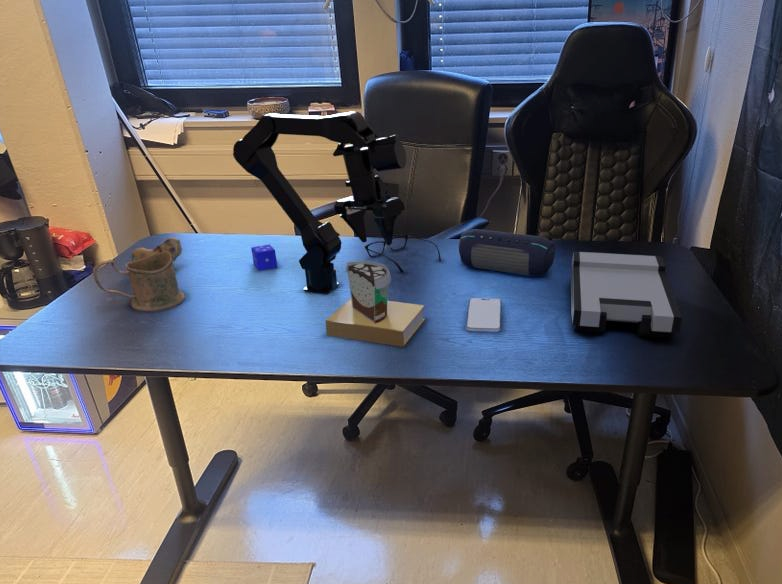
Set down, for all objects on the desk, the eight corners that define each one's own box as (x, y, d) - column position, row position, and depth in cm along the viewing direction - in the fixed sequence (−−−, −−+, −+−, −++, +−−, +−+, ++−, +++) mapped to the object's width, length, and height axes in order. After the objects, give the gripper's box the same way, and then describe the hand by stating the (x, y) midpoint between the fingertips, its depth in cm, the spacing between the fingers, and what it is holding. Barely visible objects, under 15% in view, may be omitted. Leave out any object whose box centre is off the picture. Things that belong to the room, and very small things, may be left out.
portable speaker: (452, 270, 164) (452, 233, 159) (465, 258, 172) (466, 222, 167) (546, 284, 156) (550, 245, 151) (556, 270, 164) (559, 233, 159)
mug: (95, 309, 142) (80, 258, 136) (170, 287, 153) (159, 239, 148) (117, 324, 135) (102, 272, 129) (194, 300, 147) (183, 251, 141)
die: (258, 271, 163) (255, 252, 161) (253, 265, 167) (250, 247, 164) (277, 267, 165) (275, 249, 163) (272, 262, 169) (269, 244, 167)
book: (326, 335, 131) (325, 320, 129) (353, 310, 142) (352, 296, 140) (403, 347, 126) (402, 331, 125) (424, 319, 137) (424, 305, 136)
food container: (404, 318, 130) (402, 273, 125) (378, 326, 127) (375, 279, 122) (373, 299, 138) (371, 256, 134) (349, 306, 135) (345, 262, 130)
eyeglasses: (408, 245, 181) (408, 232, 179) (445, 259, 171) (445, 245, 169) (362, 259, 171) (361, 245, 169) (398, 274, 161) (397, 260, 159)
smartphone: (465, 327, 132) (469, 297, 145) (465, 332, 133) (469, 302, 146) (500, 329, 132) (501, 298, 145) (500, 333, 132) (501, 303, 145)
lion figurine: (188, 267, 166) (181, 234, 161) (185, 274, 161) (178, 240, 157) (128, 271, 163) (119, 237, 158) (123, 279, 158) (114, 244, 154)
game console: (570, 341, 129) (574, 304, 125) (570, 283, 156) (573, 251, 152) (675, 349, 126) (683, 311, 122) (656, 288, 153) (661, 256, 149)
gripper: (416, 164, 135) (429, 235, 141) (363, 165, 147) (378, 230, 154) (376, 177, 128) (392, 250, 135) (325, 177, 141) (342, 244, 148)
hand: (376, 243), depth 143 cm, fingers open, 9 cm apart
